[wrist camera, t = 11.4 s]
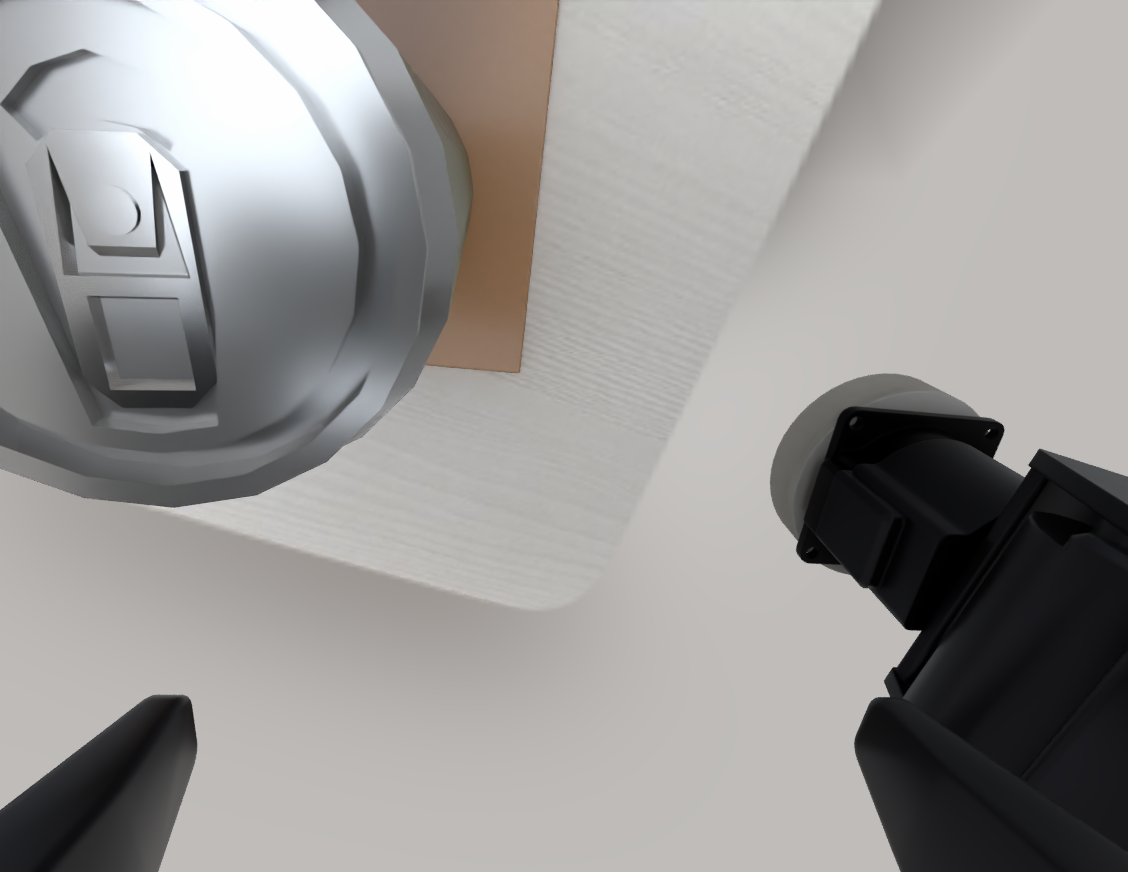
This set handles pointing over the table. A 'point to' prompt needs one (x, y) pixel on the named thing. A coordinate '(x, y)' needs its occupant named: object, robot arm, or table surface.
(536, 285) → the table surface
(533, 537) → the table surface
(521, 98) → the cork mat
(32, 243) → the green drink can
